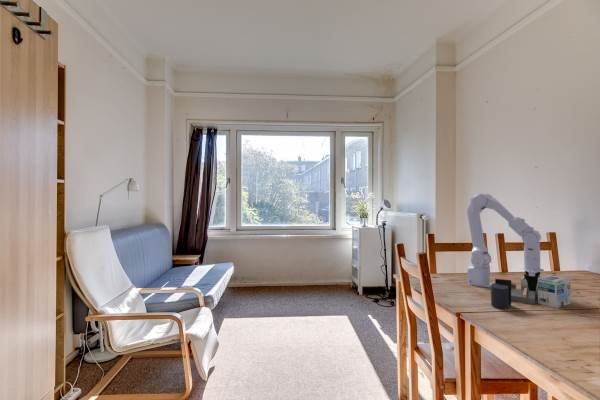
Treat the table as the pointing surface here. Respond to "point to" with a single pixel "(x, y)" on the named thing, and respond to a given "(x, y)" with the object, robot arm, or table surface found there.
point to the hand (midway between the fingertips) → (532, 289)
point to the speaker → (501, 293)
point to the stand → (523, 296)
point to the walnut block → (513, 285)
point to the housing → (525, 285)
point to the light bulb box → (554, 290)
